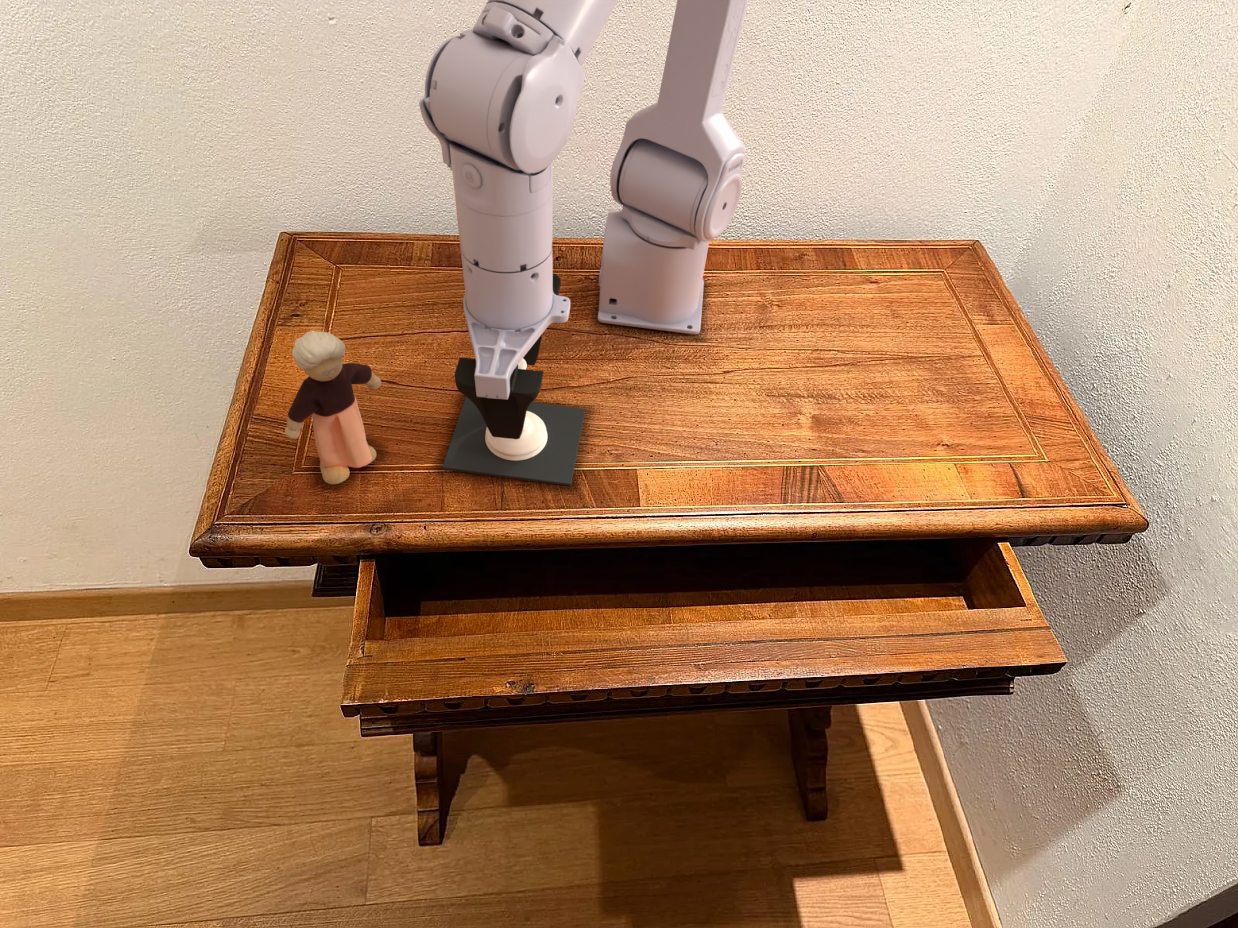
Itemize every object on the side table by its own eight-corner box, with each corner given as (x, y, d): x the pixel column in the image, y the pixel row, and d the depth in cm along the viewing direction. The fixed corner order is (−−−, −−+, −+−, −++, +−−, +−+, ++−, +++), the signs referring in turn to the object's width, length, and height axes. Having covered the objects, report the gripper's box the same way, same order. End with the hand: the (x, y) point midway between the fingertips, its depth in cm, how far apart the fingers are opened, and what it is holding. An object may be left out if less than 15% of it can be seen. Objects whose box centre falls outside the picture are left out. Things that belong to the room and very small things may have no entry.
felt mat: (442, 469, 61) (442, 467, 61) (467, 395, 66) (466, 393, 66) (570, 486, 61) (570, 484, 61) (585, 411, 66) (585, 408, 66)
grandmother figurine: (335, 503, 59) (291, 381, 49) (297, 479, 60) (247, 356, 50) (405, 438, 63) (378, 315, 53) (369, 418, 64) (336, 293, 54)
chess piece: (505, 470, 61) (499, 378, 54) (473, 430, 64) (463, 336, 56) (559, 444, 63) (560, 351, 56) (526, 406, 66) (523, 312, 58)
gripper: (556, 328, 45) (555, 476, 55) (582, 187, 54) (577, 337, 65) (431, 316, 45) (454, 466, 55) (479, 176, 54) (491, 328, 65)
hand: (514, 396), depth 60 cm, fingers open, 7 cm apart
